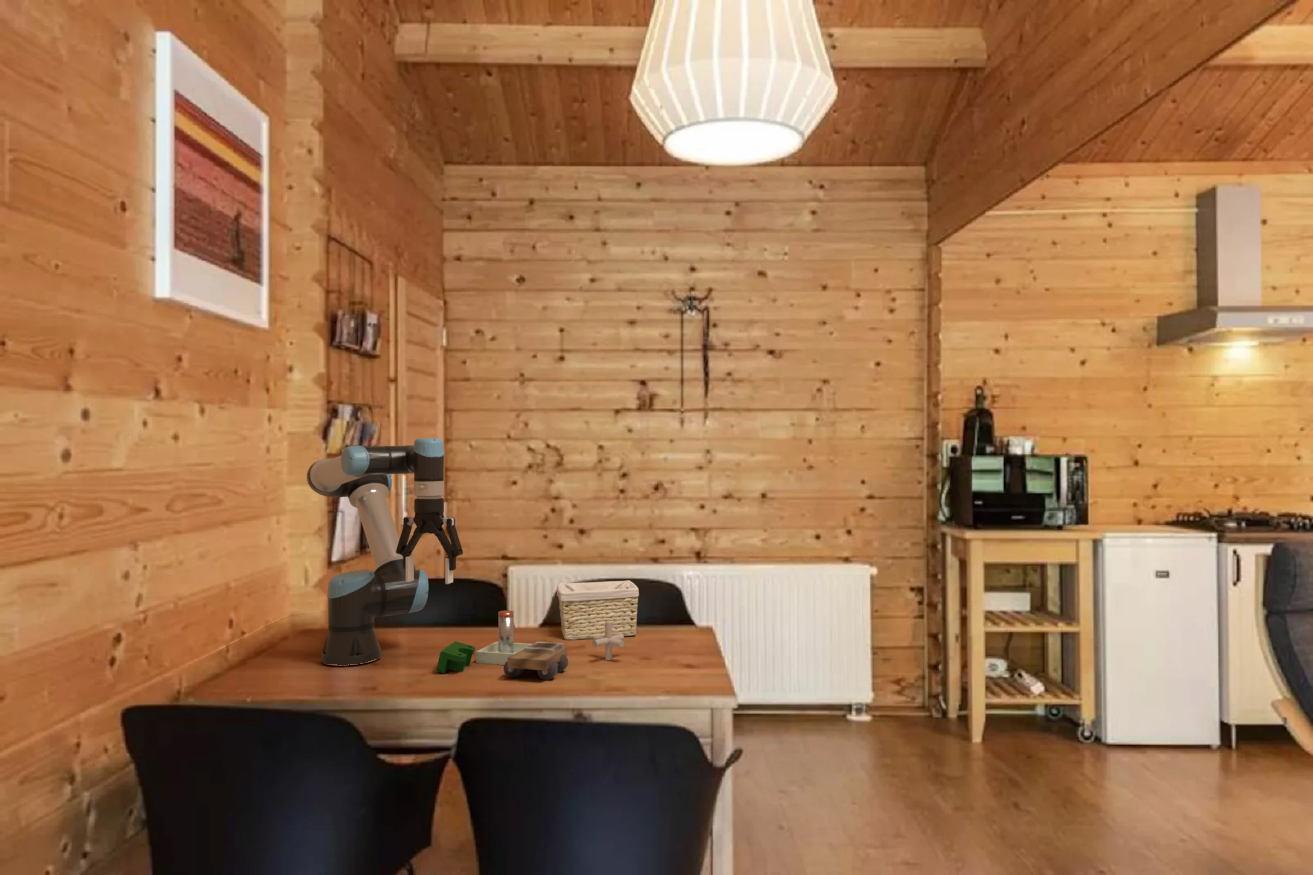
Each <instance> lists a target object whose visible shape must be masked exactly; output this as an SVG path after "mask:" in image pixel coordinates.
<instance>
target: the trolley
mask: <svg viewBox="0 0 1313 875" xmlns="http://www.w3.org/2000/svg"><path fill="white" fill-rule="evenodd" d="M564 643H565V642H551V641H535V642H533V643H531V644H532V645H530V646H528V647H526V648H524V649H523V650H521V651H519V652H517V653H515V654H514V655H512V656H510V657H508V661H507V662H506V663H505V664H504V665H503V672H504V674H505V676H507V677H508V678H510V677H515V678H517V677H518V676H520V675H521V674H522V673H523V672H524V671H523V670H526V671H528V670H535V671H536V670H537V675H538V677H539V678H540V679H541V680H543V681H550V680H551V679H553V678H554V677H556V676H557V674H559V673H562V672H563V671H564V670H566V669H567V667H568V666H569V659H568V646H564V645H565V644H564Z"/></svg>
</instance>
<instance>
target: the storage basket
mask: <svg viewBox="0 0 1313 875" xmlns="http://www.w3.org/2000/svg"><path fill="white" fill-rule="evenodd" d="M556 595H557V597H558V602H559V603H558V604H559V605H558V606H559V614H560V615H559V616H560V622H561V623H560V624H561V633H562V635H563V638H564V639H565V640H572V641H577V640H586V639H587V640H593V638H594V636H595V635H600V636H604V637H605V622H607V621H610V622H612V636H615V635H619V634H623V636H624V637H629V636H636V635H637V622H638V620H637V619H638V615H637V614H638V602H639V596H640V591H639V587H638V585H636V584H635V583H634V582H632V581H631V580H627V579H626V580H615V581H614V580H611V581H592V582H560V583H557V584H556Z"/></svg>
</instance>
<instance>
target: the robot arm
mask: <svg viewBox="0 0 1313 875" xmlns="http://www.w3.org/2000/svg"><path fill="white" fill-rule="evenodd" d="M444 466H445V448H444V441H443V439H442V438H438V437H435V438H431V437H430V438H429V437H428V438H427V437H426V438H415V439H414V442H413V445H412V444H411V445H408V444H406V445H378V446H377V445H354V446H347V447H346V446H345V448H344V449H343V450H342V452H341V454H340V455H338V456H336V457H334V458H322V459H320V460H316V461H315V462H313V463H312V464H311V465H310V466H309V467H308V470H307V472H306V481H307V484H308V486H309V488H310V489H312V491H314V493H316V494H318V495H321V496H324V497H329V498H348V501H349V503H350V506H352V507H353V508H356V509H357V511H358V516H359V518H360V521H361V525H362V528H363V531H364V534H365V538H366V541H367V545H368V547H369V550H370V554H371V556H372V557H371V558H372V559H373V560H372V561H373V563H374V566H375V569H374V571H373V570H372V569H360V570H359V569H358V570H357V569H356V570H351V571H350V570H349V571H347V572H346V571H345V572H342V573H339V574H336V575H334V576H332V577H331V578H330V580H329V582H328V583H327V584H328V588H327V594H326V597H327V624H328V625H327V626H328V628H327V635H326V639H325V642H324V645H323V648H322V651H321V654H320V655H321V656H320V658H321V660H320V661H322V662H323V663H324V664H337V665H348V664H349V665H350V664H360V663H365V662H368V661H371V660H374V659H378V658H380V657H381V658H382V649H381V646H380V642H379V640H378V637H377V634H376V631H375V618H381V617H389V616H391V617H392V616H397V615H405V614H406V615H409V614H410V613H411V614H412V613H416V612H420V611H422V610H423V609H424V608H425V605H426V604H427V600H428V597H429V596H428V595H429V578H428V577H429V576H428V574H427V573H426V570H423V569H420V568H418V569H417V568H416V566H415V562H414V560H415V559H414V558H415V556H414V555H413V551H414V549H415V547H416V546H417V544H418V543H419V541H420V539H421V538H422V536H423V534H429V535H431V534H433V535H434V536H435V537H436V538H437V540H438V542H439V543H440V545H441V547H442V548H443V550H444V552H445V553H446V555H447V557H446V558H444V559H445V560H444V561H445V562H444V564H445V565H444V566H445V568H444V570H445V571H444V572H445V577H444V578H445V585H449V584H451V583H454V571H455V570H456V568H457V557H458V556H462V555H463V554H464V550H463V547H462V544H461V540H460V538H459V534H458V531H457V529H456V518H455V517H450V518H448V517H447V518H445V515H444V513H445V499H444V498H443V496H444V495H445V478H444V476H445V473H444V472H445V469H444V468H445V467H444ZM405 474H406V475H410V474H411V475H413V484H414V485H413V491H414V492H413V495H414V496H415V497H416V498H414V500H413V511H414V516H407V517H406V516H405V517H403V519H402V520H403V522H402V525H403V526H402V529H401V533H400V536H399V534H398V530H397V527H396V524H395V522H394V519H393V516H392V513H391V510H390V507H389V504H388V500H387V498H388V497H389V493H390V492H391V490H392V486H393V479H392V476H393V475H405ZM413 525H415V526H416V527H415V529H414V530H413V532H412V528H413ZM443 525H444V526H445V527H446V531H447V534H448V536H447V535H446V531H445V529H444V527H443ZM411 532H412V533H413V534H411ZM410 535H412V536H410ZM409 538H410V539H409ZM381 658H380V659H381ZM324 664H323V665H324Z"/></svg>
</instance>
